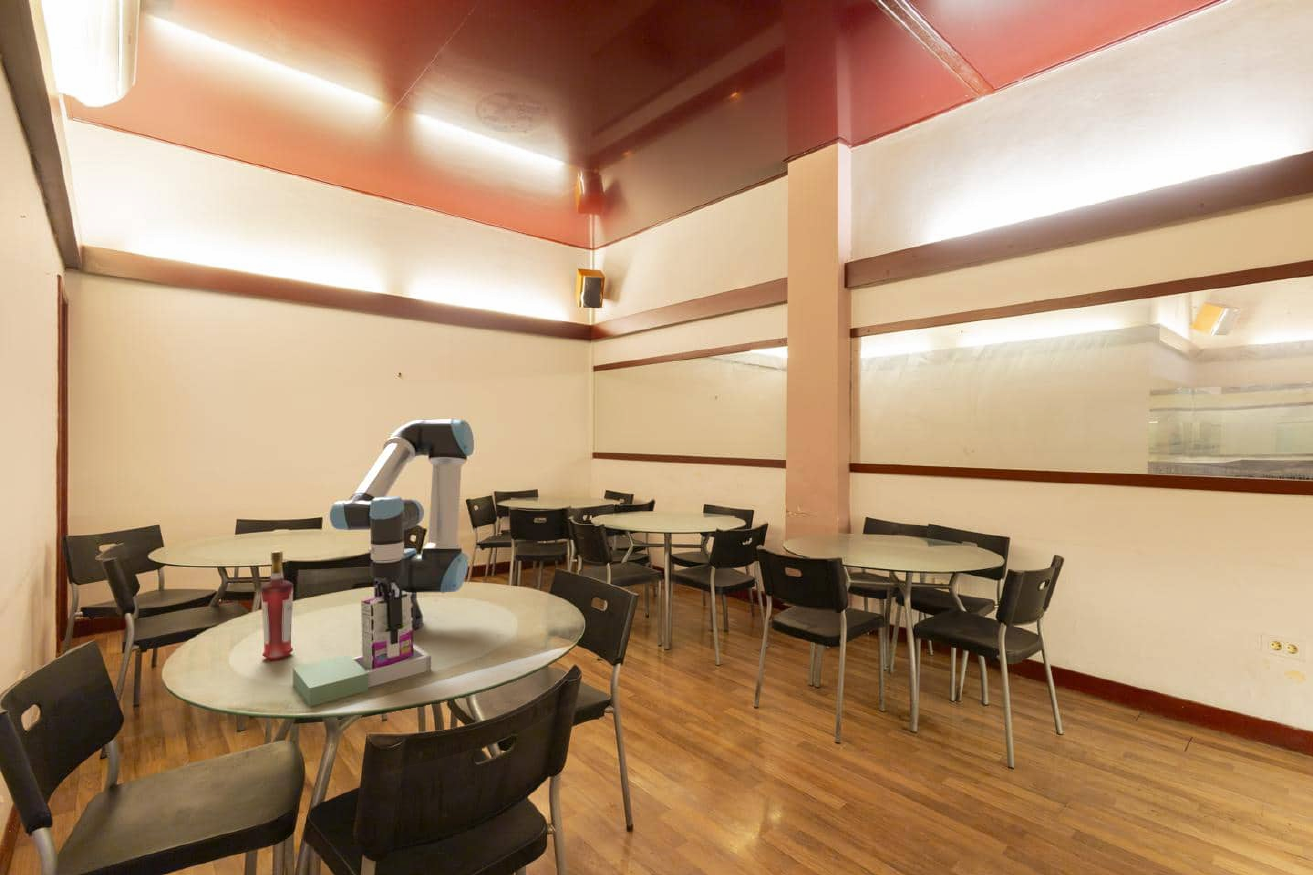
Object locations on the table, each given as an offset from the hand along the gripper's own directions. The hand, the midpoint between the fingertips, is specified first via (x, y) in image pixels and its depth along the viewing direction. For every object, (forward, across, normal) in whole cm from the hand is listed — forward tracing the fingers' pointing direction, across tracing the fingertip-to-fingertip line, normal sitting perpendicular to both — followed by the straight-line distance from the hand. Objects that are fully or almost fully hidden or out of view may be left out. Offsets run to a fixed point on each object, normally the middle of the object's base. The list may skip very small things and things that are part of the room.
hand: (388, 652), depth 147 cm
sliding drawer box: (+5, 0, -5) cm, 7 cm away
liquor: (+5, -31, -18) cm, 36 cm away
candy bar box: (+3, 0, 0) cm, 3 cm away
